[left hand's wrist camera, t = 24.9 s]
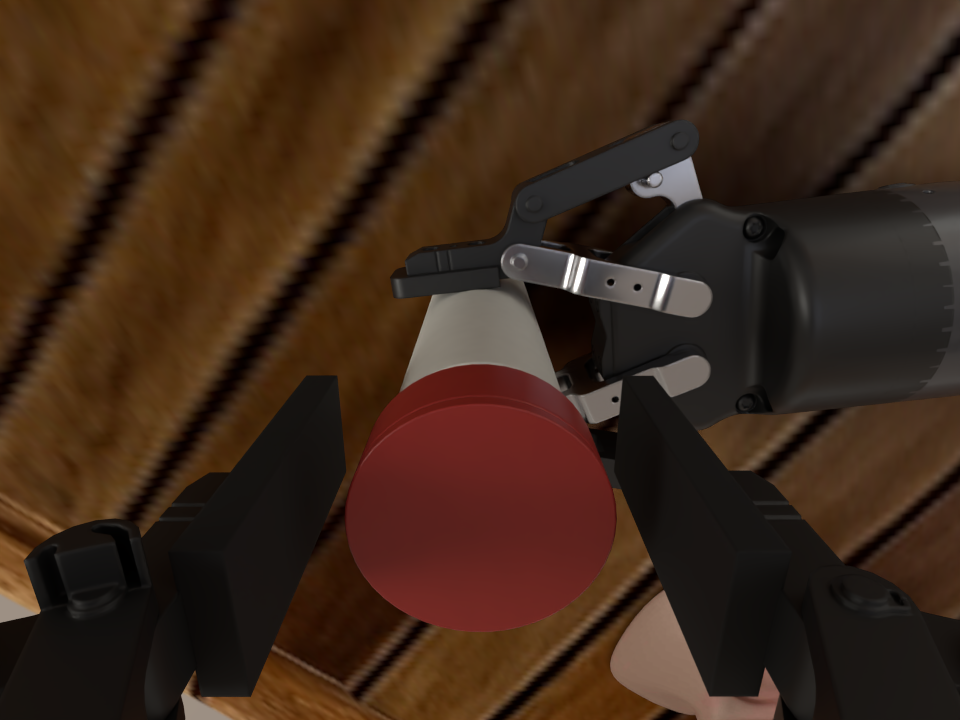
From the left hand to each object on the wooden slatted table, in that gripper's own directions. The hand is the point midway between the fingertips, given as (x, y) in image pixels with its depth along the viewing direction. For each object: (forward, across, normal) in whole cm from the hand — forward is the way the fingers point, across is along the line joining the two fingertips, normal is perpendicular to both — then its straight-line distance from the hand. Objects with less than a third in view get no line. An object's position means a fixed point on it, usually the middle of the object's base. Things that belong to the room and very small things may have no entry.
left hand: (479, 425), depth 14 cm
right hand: (+7, -3, 0) cm, 7 cm away
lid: (-4, 0, 0) cm, 4 cm away
